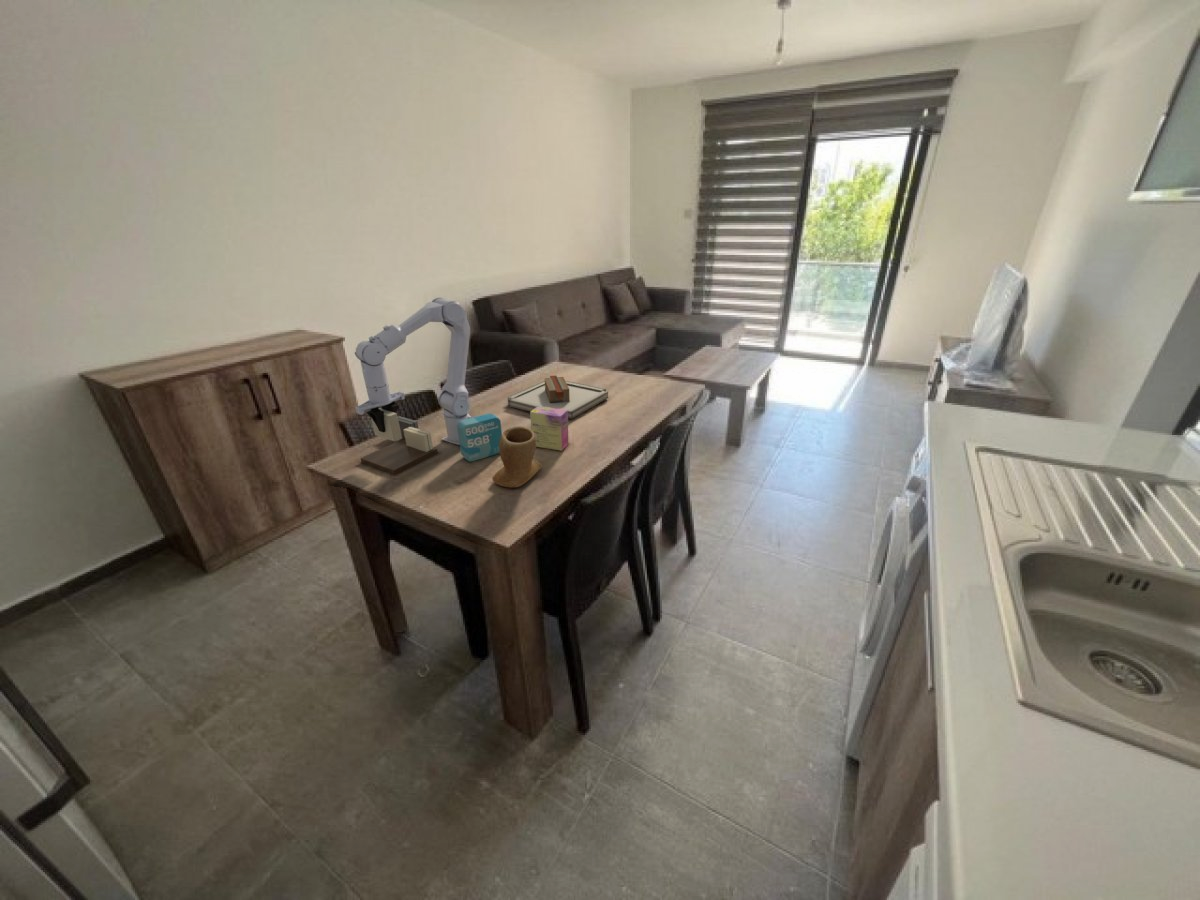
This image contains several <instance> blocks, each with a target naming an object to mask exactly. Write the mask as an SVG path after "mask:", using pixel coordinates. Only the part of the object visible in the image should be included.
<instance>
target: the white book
mask: <svg viewBox="0 0 1200 900" xmlns="http://www.w3.org/2000/svg"><path fill="white" fill-rule="evenodd" d="M379 409H380V410H381V411H384V424H385V432H380V431H379V430H378V428H377V426H376V424H375V422H374V421H373V419H372V418H371V417H370V420H371V425H372V428H373V433H374V436H375V437H379V438H383V439H385V440H388V441H392V442H393V443H395V442H398V441H400V440H402V439H403V437H402V435H401V431H400V426H399V421H398V416H399V415H398V412H397V413H394V412H391V411H387V410H384V409H382V408H381V407H379Z"/></svg>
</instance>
